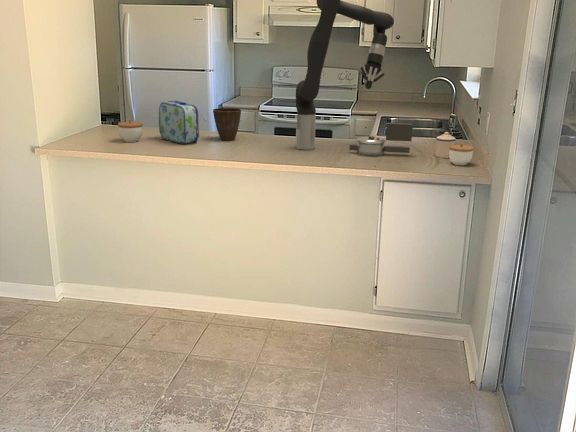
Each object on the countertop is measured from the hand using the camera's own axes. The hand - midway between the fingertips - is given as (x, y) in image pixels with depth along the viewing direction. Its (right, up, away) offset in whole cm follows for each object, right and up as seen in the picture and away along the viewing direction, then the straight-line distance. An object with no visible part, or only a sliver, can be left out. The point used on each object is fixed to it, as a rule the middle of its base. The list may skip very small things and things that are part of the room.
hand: (367, 88), depth 291 cm
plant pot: (-72, -22, +25) cm, 79 cm away
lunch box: (-96, -24, +19) cm, 101 cm away
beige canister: (+36, -34, -6) cm, 50 cm away
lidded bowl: (-121, -24, +18) cm, 125 cm away
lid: (+7, -27, -7) cm, 28 cm away
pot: (+5, -32, -3) cm, 33 cm away
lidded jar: (+39, -39, -22) cm, 59 cm away
